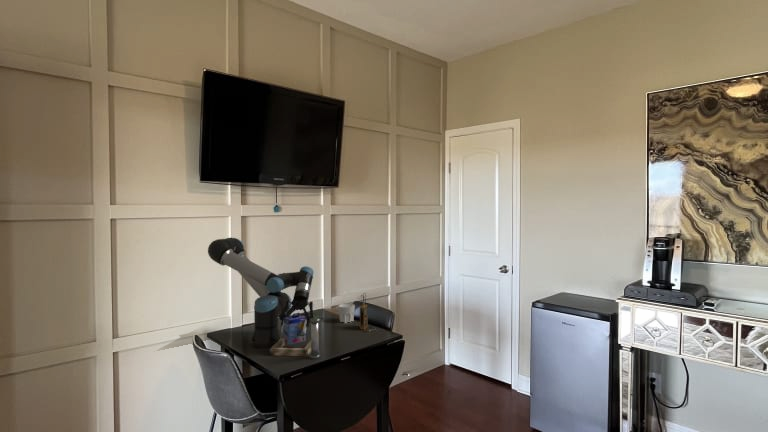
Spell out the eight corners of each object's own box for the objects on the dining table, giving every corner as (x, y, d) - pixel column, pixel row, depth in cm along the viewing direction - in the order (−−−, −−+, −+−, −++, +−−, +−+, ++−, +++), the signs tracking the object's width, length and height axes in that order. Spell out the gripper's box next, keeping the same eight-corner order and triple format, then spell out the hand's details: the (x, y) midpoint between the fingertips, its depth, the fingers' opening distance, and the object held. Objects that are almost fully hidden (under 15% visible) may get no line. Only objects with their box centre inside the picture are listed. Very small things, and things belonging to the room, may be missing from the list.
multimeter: (375, 332, 229) (375, 297, 229) (358, 331, 231) (358, 296, 231) (380, 325, 244) (380, 291, 243) (364, 324, 246) (364, 291, 245)
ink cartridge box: (289, 345, 197) (288, 315, 197) (283, 342, 201) (282, 313, 201) (306, 340, 204) (306, 311, 203) (300, 338, 208) (300, 309, 207)
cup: (337, 319, 256) (337, 304, 256) (353, 318, 259) (353, 303, 259) (339, 324, 247) (339, 307, 247) (356, 323, 249) (356, 306, 249)
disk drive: (294, 320, 258) (311, 323, 250) (294, 315, 258) (311, 318, 250) (306, 316, 267) (323, 319, 258) (306, 312, 267) (323, 315, 258)
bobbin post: (308, 359, 189) (308, 320, 189) (311, 355, 194) (310, 317, 194) (318, 359, 189) (318, 320, 188) (321, 355, 194) (321, 317, 193)
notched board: (269, 355, 194) (269, 348, 194) (281, 344, 210) (280, 338, 210) (307, 356, 193) (307, 349, 193) (315, 345, 209) (315, 339, 209)
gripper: (324, 297, 216) (317, 336, 201) (282, 297, 218) (272, 335, 203) (322, 289, 211) (314, 329, 195) (279, 289, 213) (268, 328, 197)
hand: (293, 332), depth 199 cm, fingers closed on ink cartridge box, 10 cm apart
